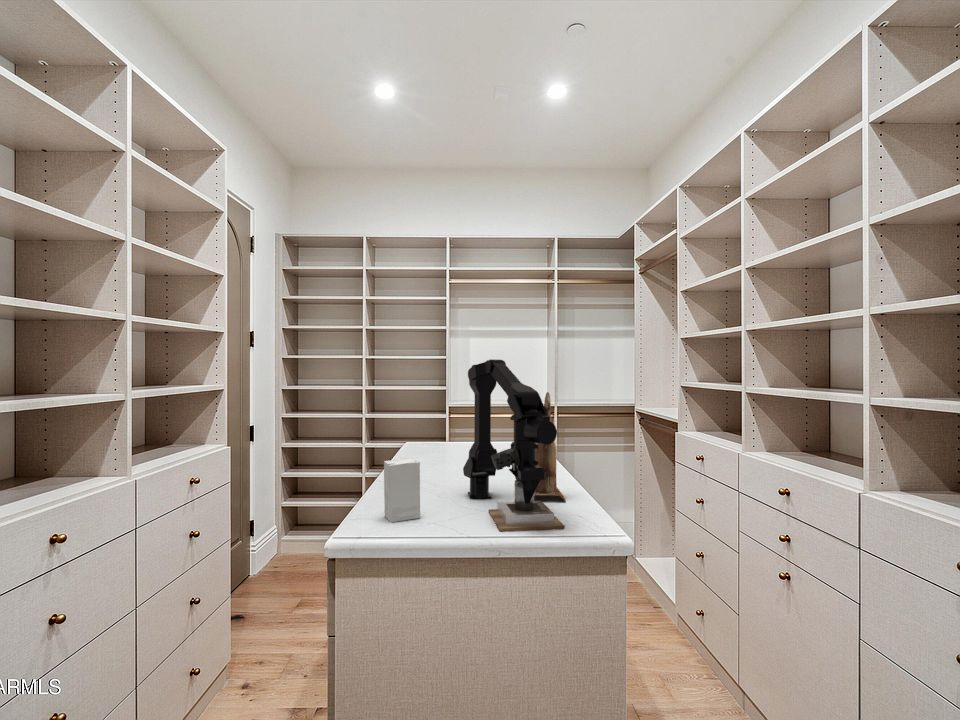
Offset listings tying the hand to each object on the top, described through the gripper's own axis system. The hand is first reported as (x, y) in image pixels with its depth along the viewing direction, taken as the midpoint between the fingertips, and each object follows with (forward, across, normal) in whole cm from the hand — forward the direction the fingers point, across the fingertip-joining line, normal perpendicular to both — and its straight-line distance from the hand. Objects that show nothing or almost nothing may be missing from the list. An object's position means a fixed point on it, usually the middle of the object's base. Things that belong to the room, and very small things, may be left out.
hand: (524, 500), depth 127 cm
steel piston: (+2, 0, 0) cm, 2 cm away
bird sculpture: (+5, -21, +11) cm, 24 cm away
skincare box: (+5, -6, -31) cm, 32 cm away
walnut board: (+5, 0, 0) cm, 5 cm away
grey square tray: (+5, 0, 0) cm, 5 cm away
